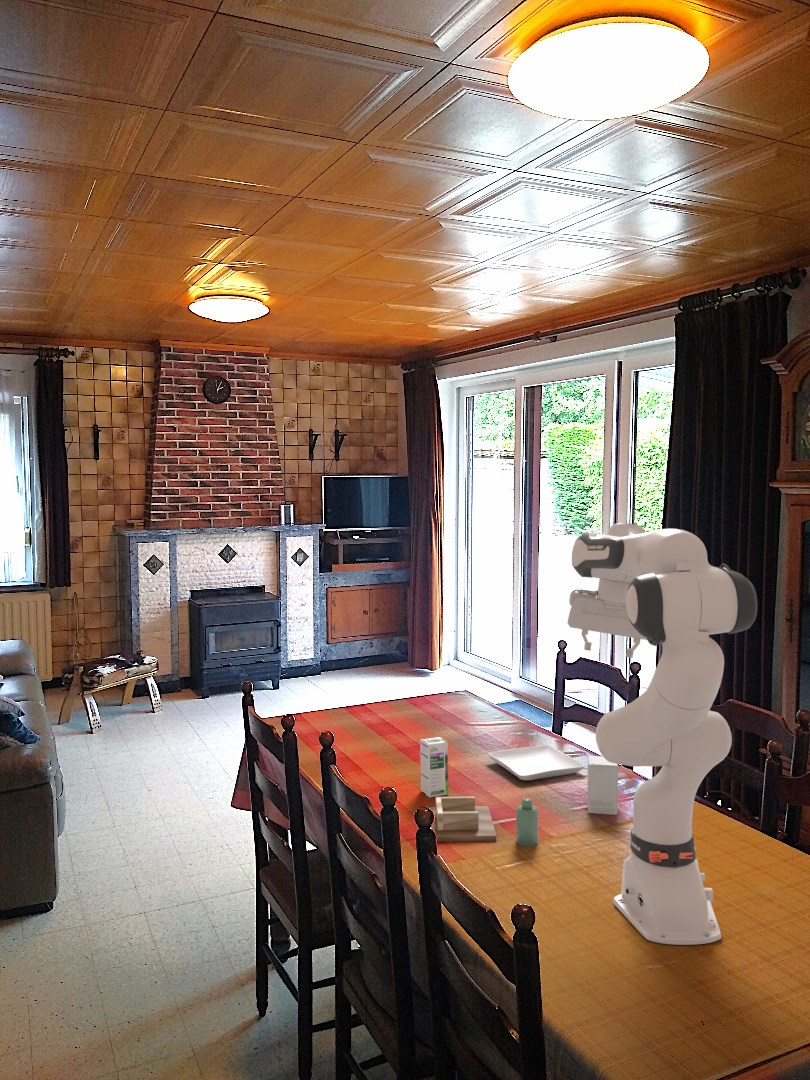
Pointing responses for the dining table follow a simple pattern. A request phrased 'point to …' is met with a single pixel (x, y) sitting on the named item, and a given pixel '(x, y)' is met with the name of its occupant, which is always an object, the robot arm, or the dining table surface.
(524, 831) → the green bottle
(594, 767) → the supplement box
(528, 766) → the salad plate
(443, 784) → the syrup box
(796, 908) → the dining table surface
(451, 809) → the u rest
